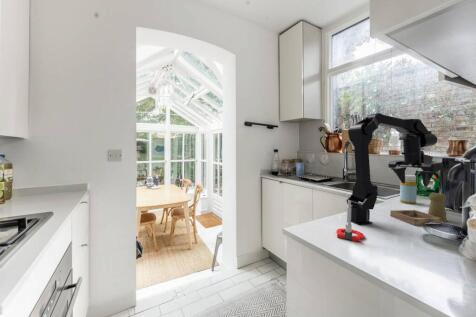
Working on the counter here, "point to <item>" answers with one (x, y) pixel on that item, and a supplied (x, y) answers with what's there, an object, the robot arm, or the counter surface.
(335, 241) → the counter surface
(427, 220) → the tray
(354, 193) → the robot arm
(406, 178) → the bottle
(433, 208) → the cork
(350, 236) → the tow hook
